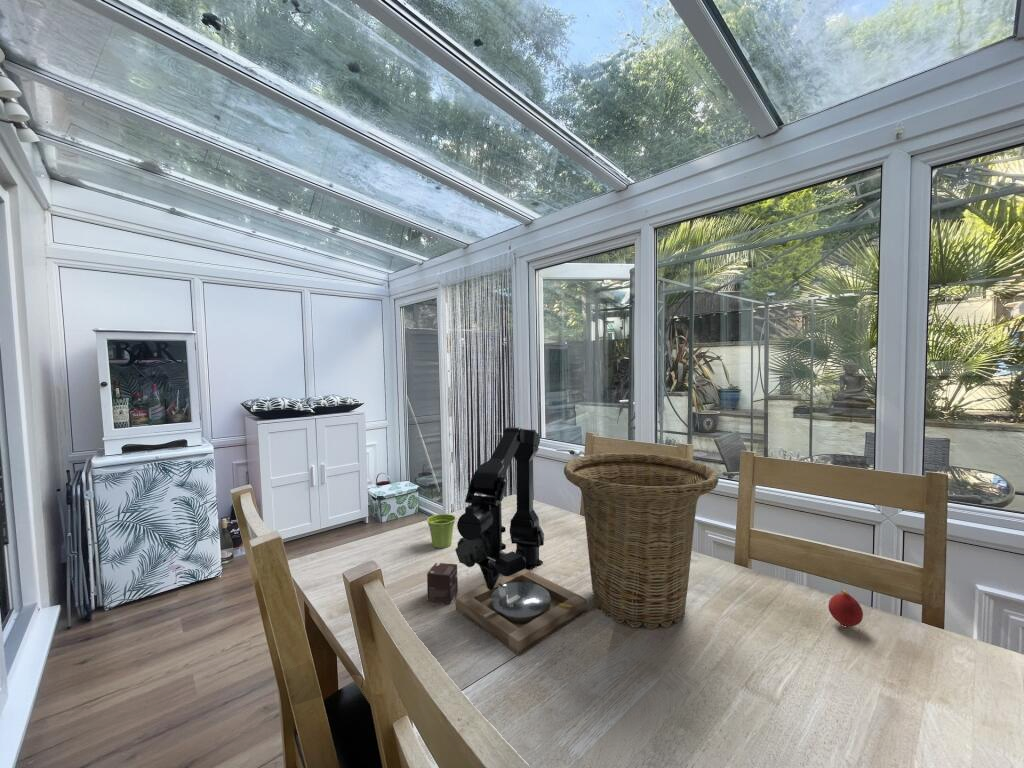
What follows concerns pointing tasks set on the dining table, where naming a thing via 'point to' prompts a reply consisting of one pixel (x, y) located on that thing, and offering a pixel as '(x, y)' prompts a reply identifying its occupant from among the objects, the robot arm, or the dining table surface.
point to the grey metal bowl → (520, 601)
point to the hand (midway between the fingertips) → (490, 589)
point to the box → (442, 583)
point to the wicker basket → (640, 531)
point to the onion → (845, 609)
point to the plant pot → (441, 529)
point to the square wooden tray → (528, 634)
